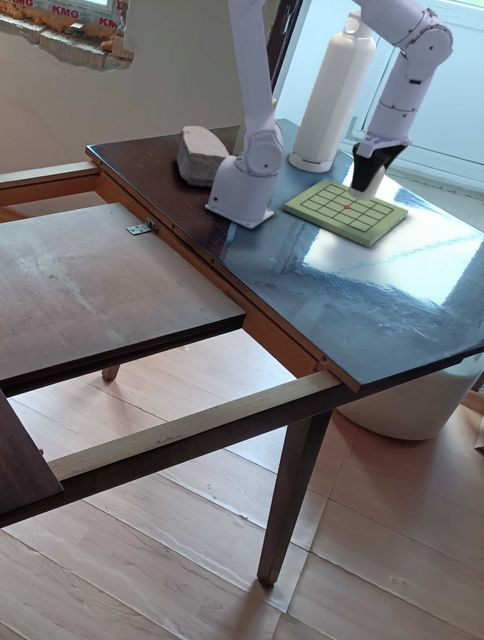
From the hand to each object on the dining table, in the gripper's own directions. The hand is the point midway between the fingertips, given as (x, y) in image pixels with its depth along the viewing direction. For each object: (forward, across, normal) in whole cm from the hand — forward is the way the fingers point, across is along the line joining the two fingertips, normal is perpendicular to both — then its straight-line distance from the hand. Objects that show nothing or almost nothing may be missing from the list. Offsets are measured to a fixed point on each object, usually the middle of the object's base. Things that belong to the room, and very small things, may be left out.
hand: (364, 185), depth 113 cm
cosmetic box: (+9, +9, +26) cm, 29 cm away
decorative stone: (+9, -4, +29) cm, 30 cm away
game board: (+8, +6, +3) cm, 10 cm away
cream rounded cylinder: (+2, 0, 0) cm, 2 cm away
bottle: (+9, +19, +17) cm, 27 cm away
